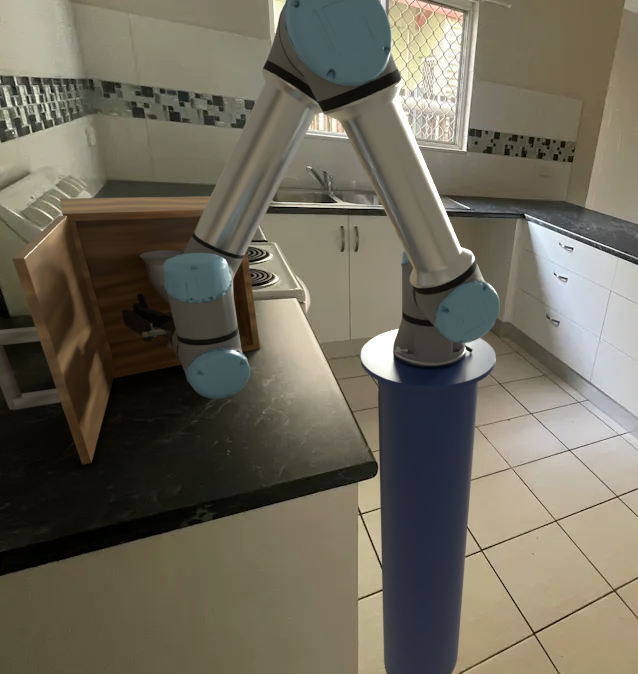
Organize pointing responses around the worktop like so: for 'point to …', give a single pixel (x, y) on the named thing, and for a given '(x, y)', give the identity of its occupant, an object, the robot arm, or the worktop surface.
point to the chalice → (158, 271)
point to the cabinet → (141, 271)
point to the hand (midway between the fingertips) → (174, 296)
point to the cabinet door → (61, 336)
